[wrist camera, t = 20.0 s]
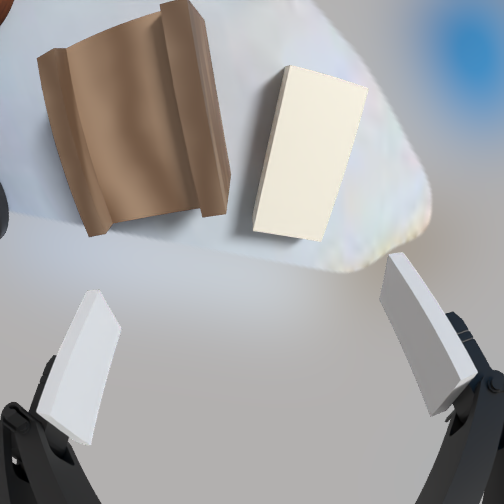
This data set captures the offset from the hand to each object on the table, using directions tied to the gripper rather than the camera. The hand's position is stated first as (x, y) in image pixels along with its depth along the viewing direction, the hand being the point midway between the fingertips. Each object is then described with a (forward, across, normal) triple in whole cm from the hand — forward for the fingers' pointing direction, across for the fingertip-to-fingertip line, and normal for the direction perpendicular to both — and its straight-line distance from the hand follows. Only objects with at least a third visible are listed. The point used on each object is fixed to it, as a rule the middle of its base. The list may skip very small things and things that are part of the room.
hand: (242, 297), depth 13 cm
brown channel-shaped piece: (+23, -8, +7) cm, 25 cm away
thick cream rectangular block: (+23, +7, 0) cm, 24 cm away
